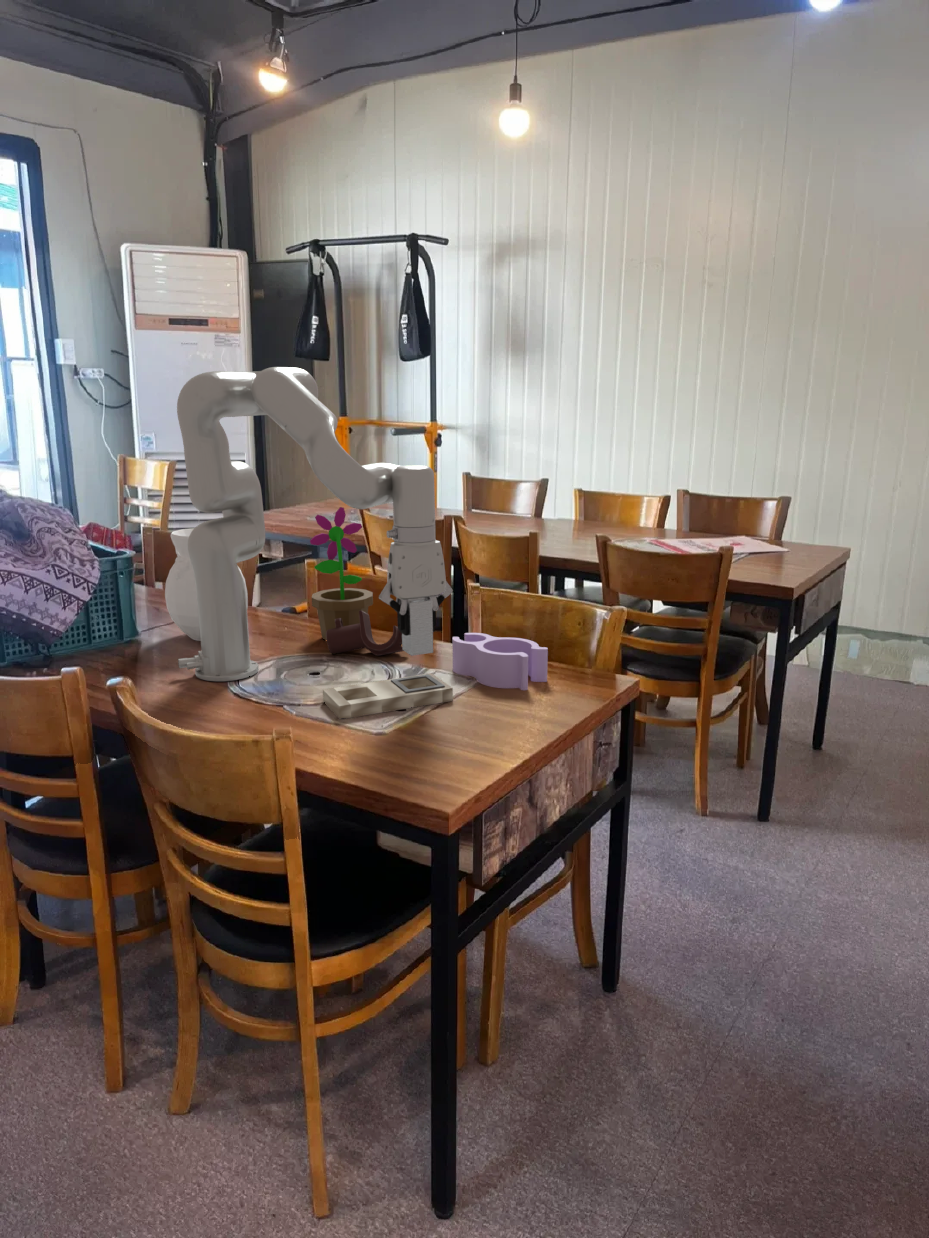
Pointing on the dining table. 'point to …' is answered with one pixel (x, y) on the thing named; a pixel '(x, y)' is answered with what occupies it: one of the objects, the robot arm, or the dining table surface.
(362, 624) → the bracket
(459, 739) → the dining table surface
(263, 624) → the dining table surface
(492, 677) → the clip
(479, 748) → the dining table surface
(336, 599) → the flowerpot
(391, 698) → the pegboard
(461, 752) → the dining table surface
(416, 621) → the peg
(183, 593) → the pitcher
